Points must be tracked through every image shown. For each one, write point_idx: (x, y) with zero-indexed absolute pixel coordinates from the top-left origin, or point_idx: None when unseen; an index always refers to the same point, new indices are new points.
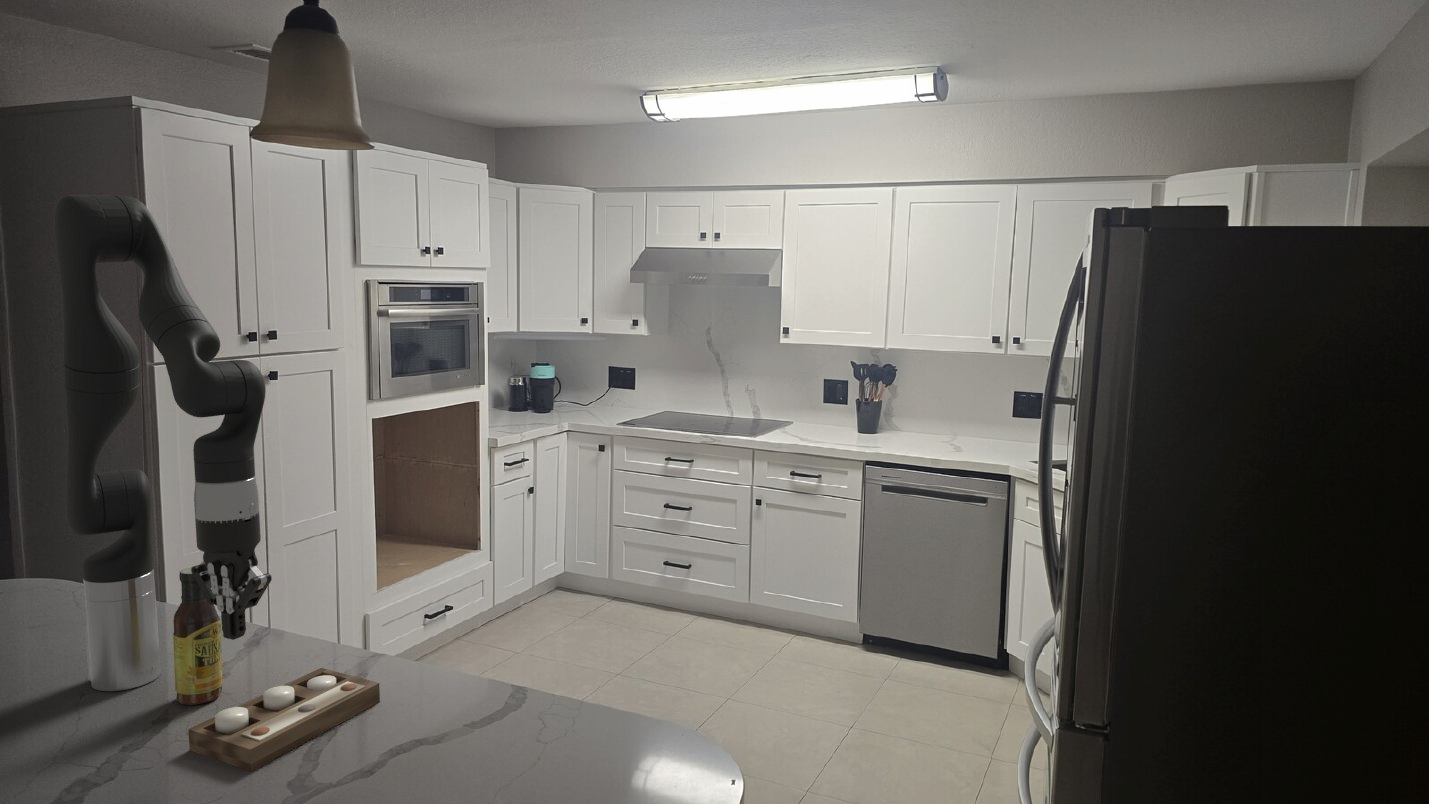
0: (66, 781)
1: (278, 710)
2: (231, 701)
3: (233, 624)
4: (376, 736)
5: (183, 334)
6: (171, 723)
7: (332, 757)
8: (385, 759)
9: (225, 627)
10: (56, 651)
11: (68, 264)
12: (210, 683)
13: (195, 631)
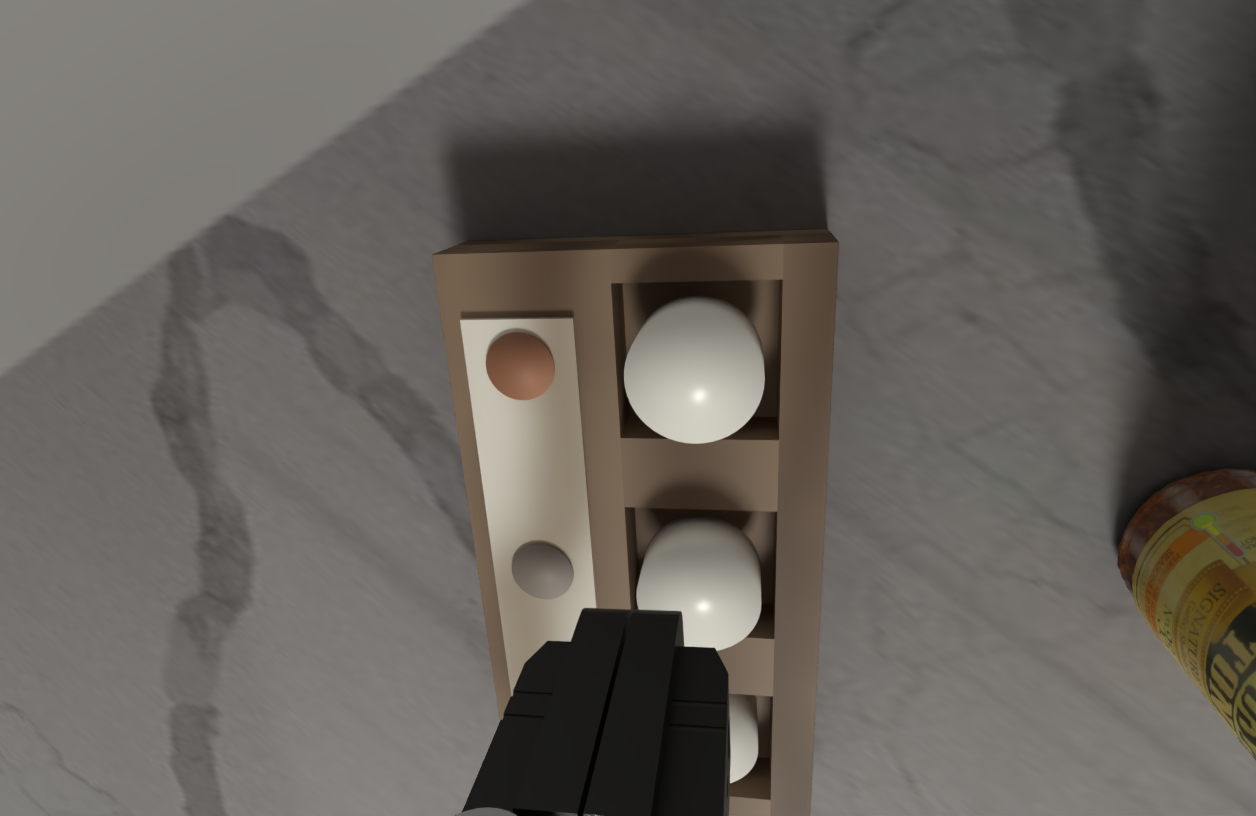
0: None
1: (658, 532)
2: (1036, 569)
3: (540, 721)
4: (346, 577)
5: None
6: (1125, 341)
7: (336, 430)
8: (204, 489)
9: (625, 674)
10: None
11: None
12: (1155, 581)
13: None
